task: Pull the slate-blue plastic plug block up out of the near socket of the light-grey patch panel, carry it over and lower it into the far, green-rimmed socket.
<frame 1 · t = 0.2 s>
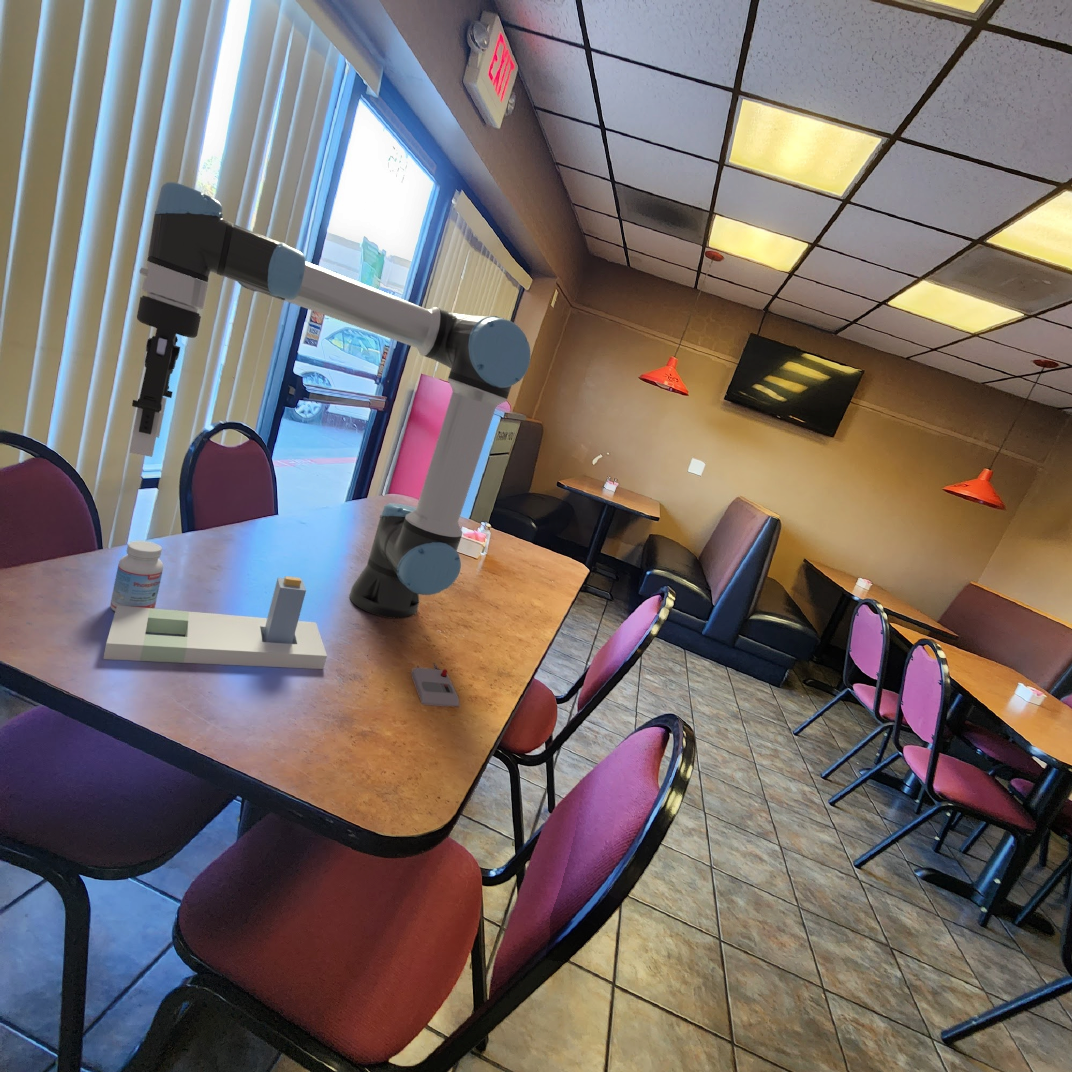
hand: (145, 444, 88), 28 cm above the table, fingers open, 13 cm apart
panel: (222, 645, 94), on the table
remote control: (431, 690, 104), on the table
plug: (275, 648, 99), resting in panel
pill bottle: (132, 610, 96), on the table
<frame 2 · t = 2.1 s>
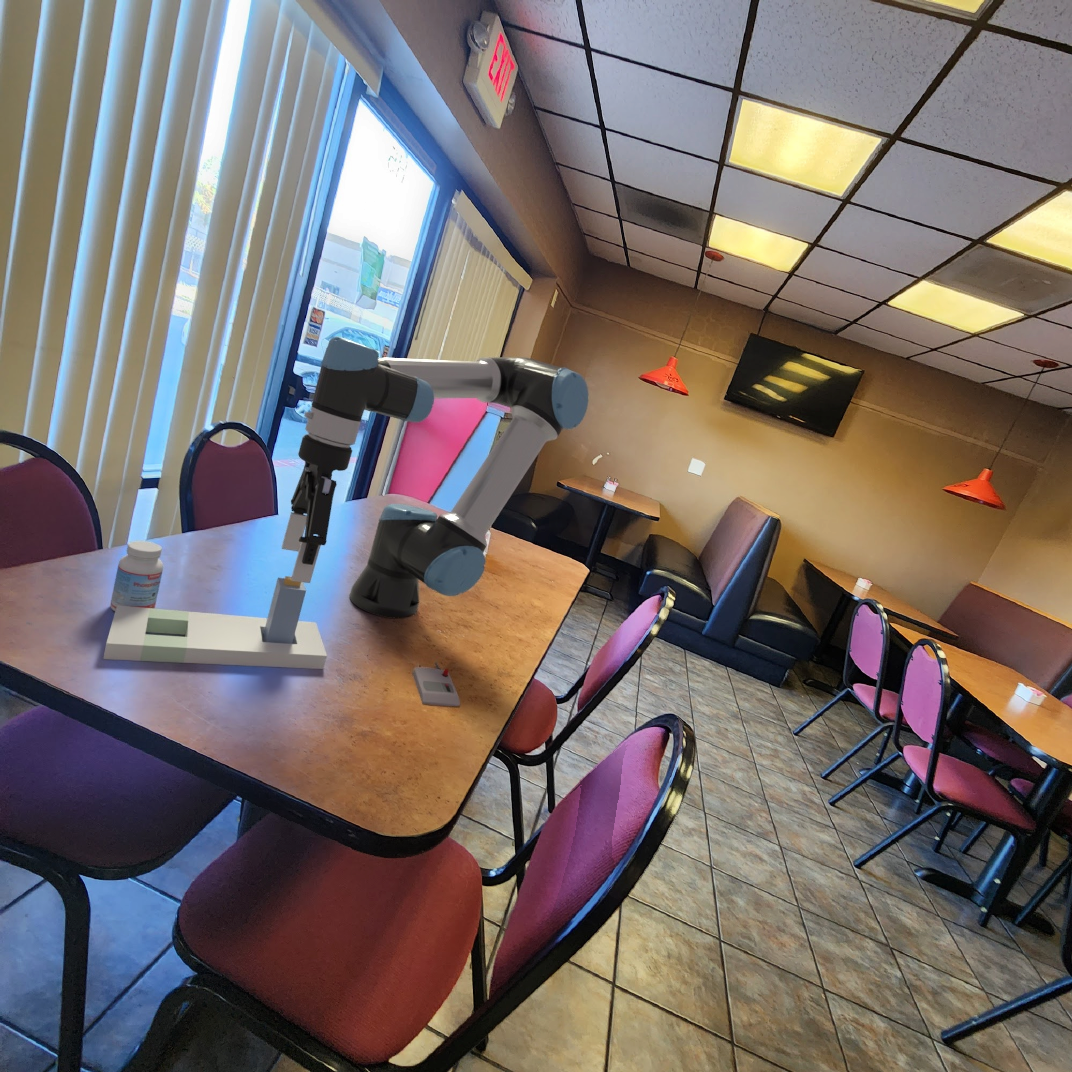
hand: (294, 564, 95), 15 cm above the table, fingers open, 13 cm apart
nothing on the table moved.
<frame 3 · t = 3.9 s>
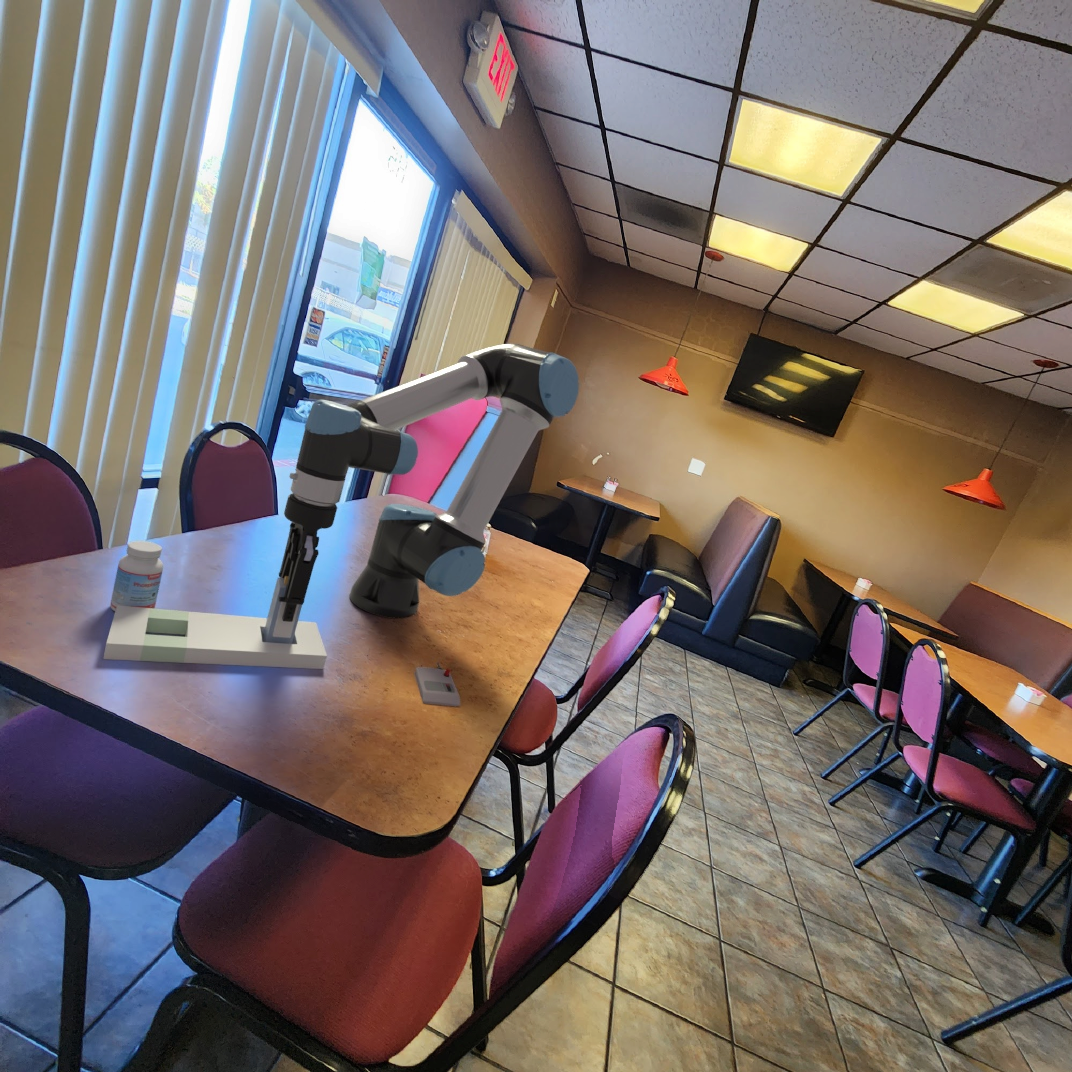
hand: (280, 629, 98), 4 cm above the table, fingers closed on plug, 4 cm apart
plug: (275, 648, 99), resting in panel, touching gripper
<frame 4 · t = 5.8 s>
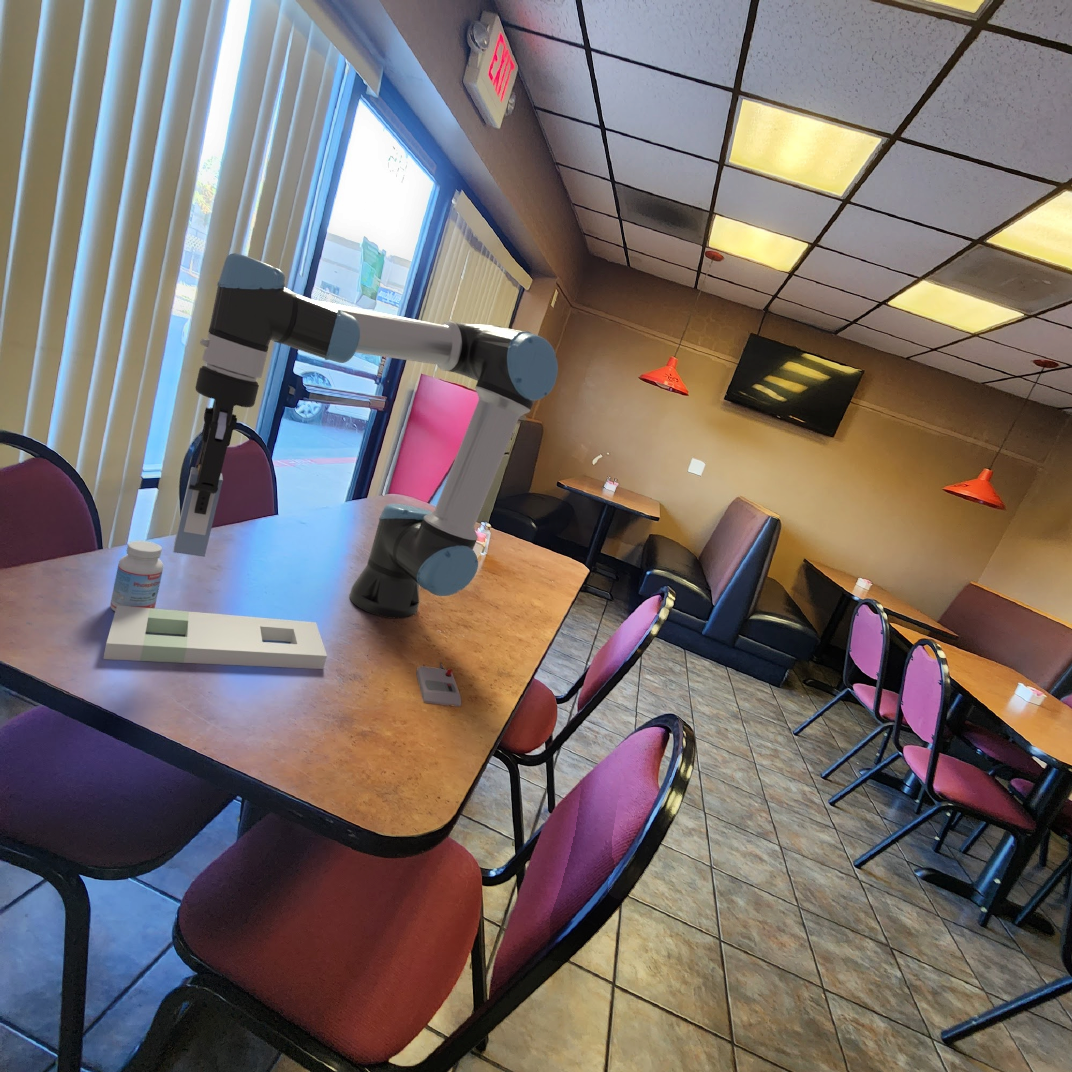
hand: (194, 527, 86), 19 cm above the table, fingers closed on plug, 4 cm apart
plug: (189, 549, 87), point 16 cm above the table, touching gripper
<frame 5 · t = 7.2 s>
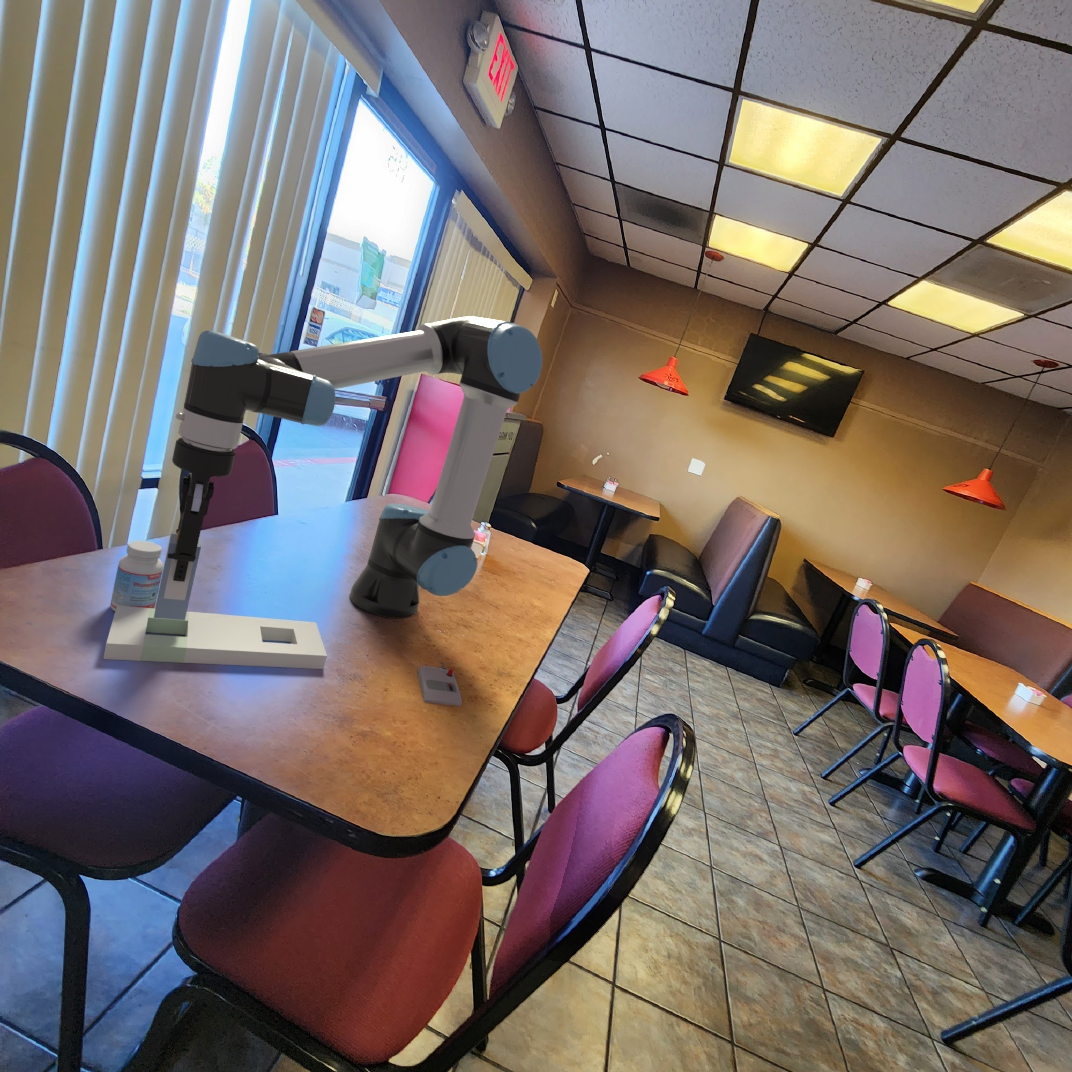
hand: (175, 591, 88), 9 cm above the table, fingers closed on plug, 4 cm apart
plug: (170, 613, 89), point 5 cm above the table, touching gripper
when the fingers open (5 cm above the table, at t = 8.2 s): plug stays where it is, resting in panel.
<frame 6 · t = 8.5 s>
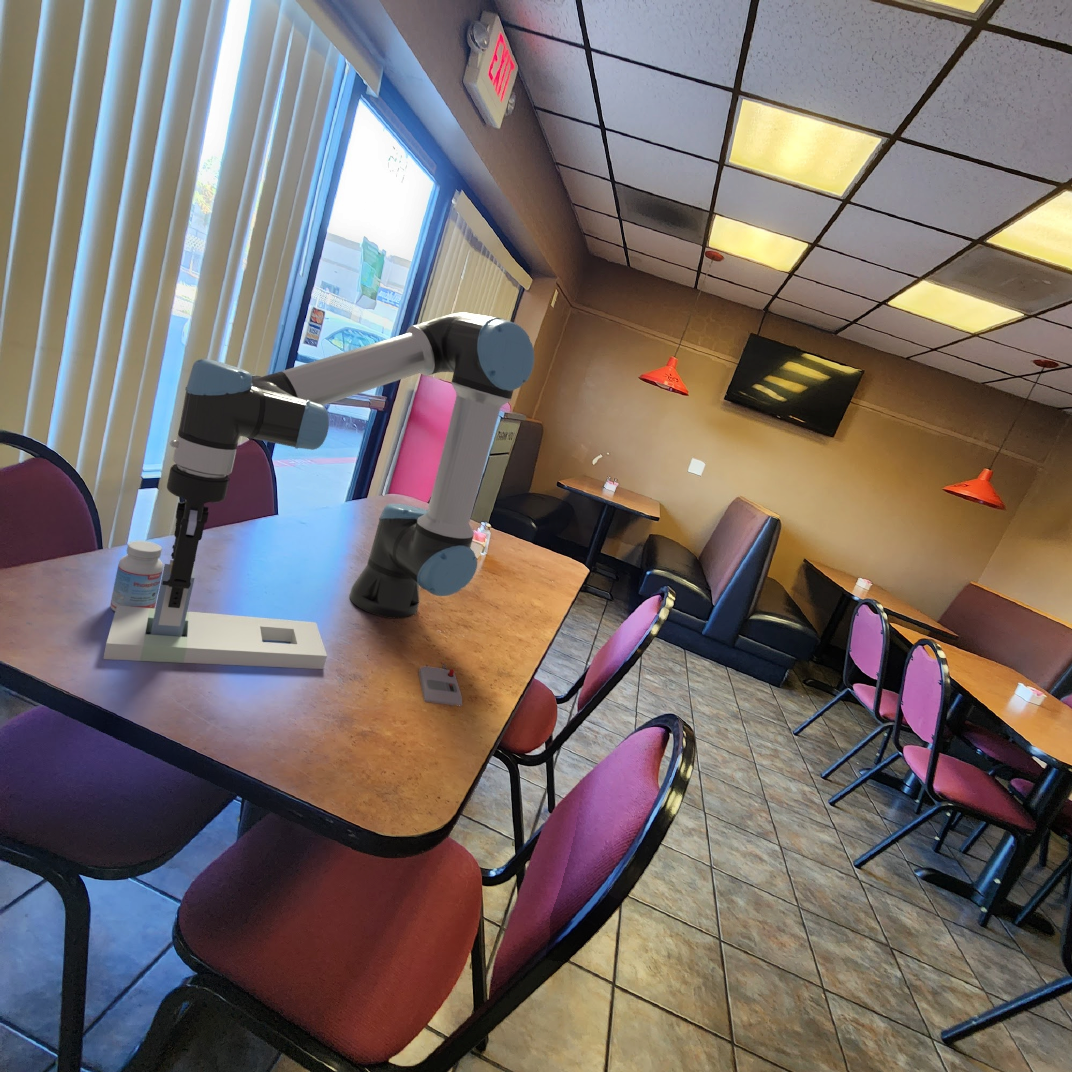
hand: (170, 611, 89), 5 cm above the table, fingers open, 8 cm apart
plug: (164, 641, 90), resting in panel
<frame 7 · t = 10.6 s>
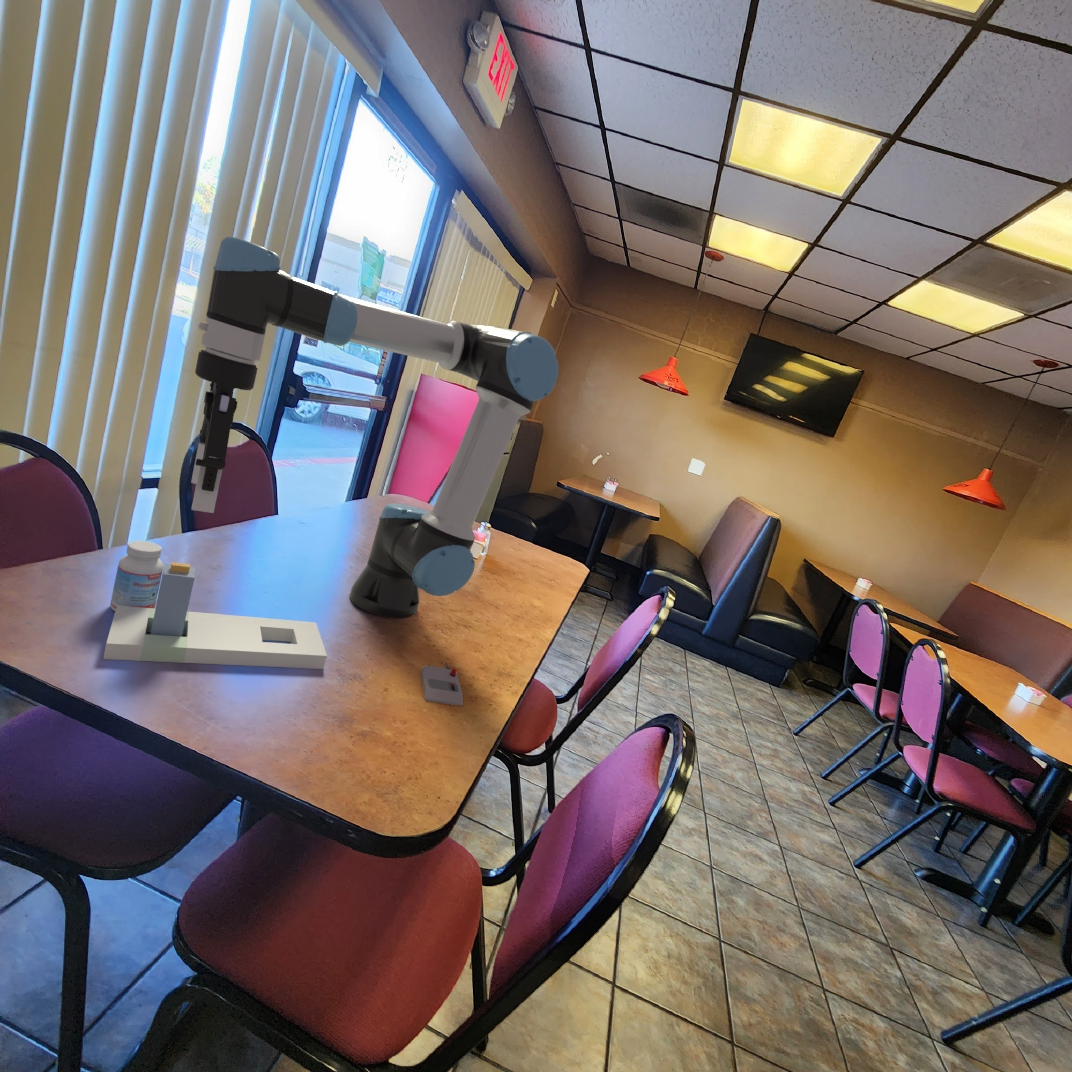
hand: (201, 496, 87), 23 cm above the table, fingers open, 13 cm apart
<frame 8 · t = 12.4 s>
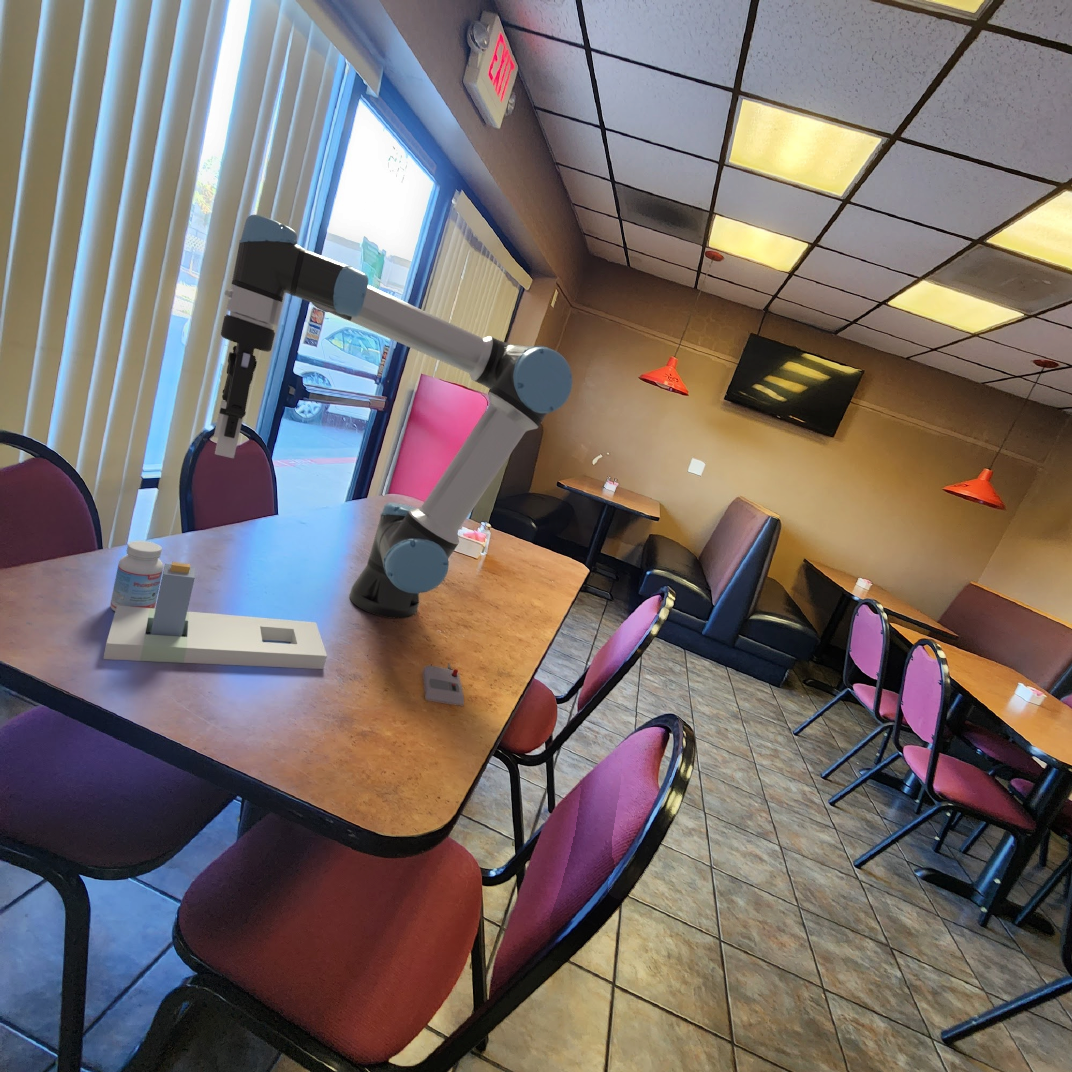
hand: (223, 446, 98), 29 cm above the table, fingers open, 13 cm apart
at the end: plug 0.0 cm from the target spot on the panel, point 0.0 cm above the panel's base; plug tilted 0°; the gripper is holding nothing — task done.
